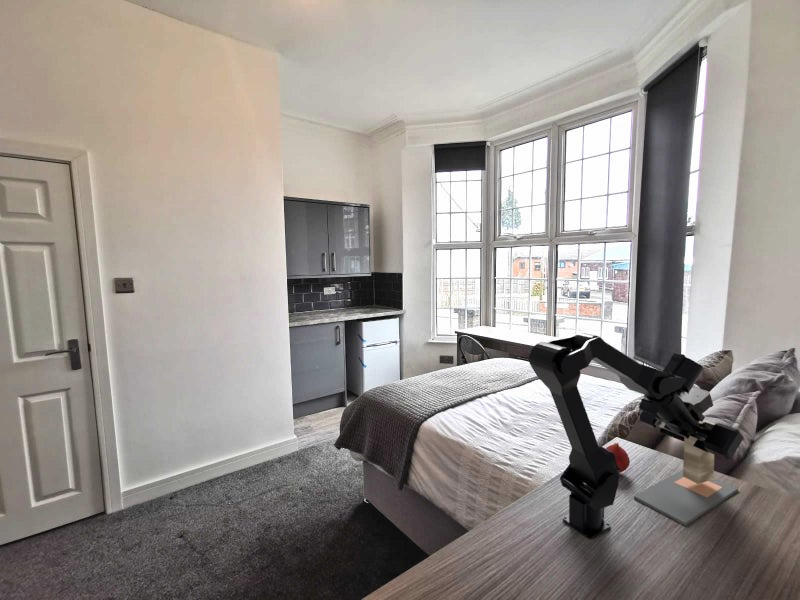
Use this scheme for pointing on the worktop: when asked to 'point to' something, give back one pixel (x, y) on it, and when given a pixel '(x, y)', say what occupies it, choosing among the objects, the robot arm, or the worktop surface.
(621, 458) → the onion
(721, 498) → the mat
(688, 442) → the cream block
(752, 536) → the worktop surface
